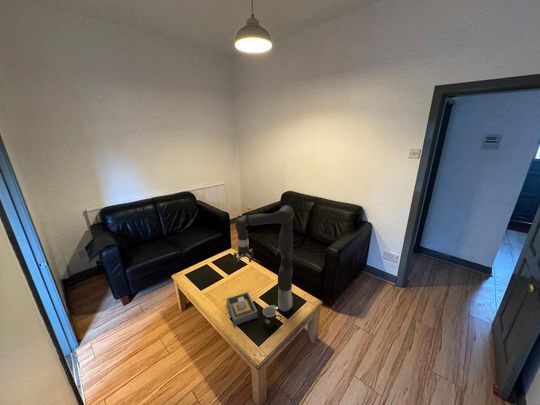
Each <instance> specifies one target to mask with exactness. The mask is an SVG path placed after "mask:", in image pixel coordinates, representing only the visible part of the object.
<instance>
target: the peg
mask: <svg viewBox="0 0 540 405" xmlns="http://www.w3.org/2000/svg"><path fill="white" fill-rule="evenodd" d="M238 309H239V311H240V310H243V309H245V299H244V297H243V296H242V297H239V298H238Z"/></svg>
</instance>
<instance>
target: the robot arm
mask: <svg viewBox="0 0 540 405" xmlns="http://www.w3.org/2000/svg"><path fill="white" fill-rule="evenodd" d="M294 215H295V212H294V208H293V207H292V206H291V205H288V204H287V205H283V206H281V208H279V210H278V211H275V212H272V213H256V214H251V215H250V214H249V215H248V214H247V215H241V216H240V217H239V218H238V219H236V220H235V224H234V227H235V230H236V233H237V252H233V260H234V262H236V265H237V266H240V260H241V259H242V258H246V257H248V263H249V264H251V262H252V258H254V257H255V255H254V249H253V248H250V246H249V243H250V242H249V231H248V229H246V227H247V226H249V225H250V226H251V227H255V226H260V225H265V224H266V225H267V224H268V225H269V224H281V226H280V227H281V228H280V230H279V236H278V251H279V255H280V267H279V270H278V273H277V288H278V290H277V292H278V293H277V294H278V295H277V306H278V307H277V308H278V309H279V310H280V311H281V312H288V311H290V310H291V308H293V298H294V297H293V295H292V292H293V290H292V286H293V283H292V278H293V277H292V276H293V272H294V267H293V252H294V251H293V249H294V230H293V228H294V227H293V225H294V217H295V216H294ZM249 253H250V254H249Z"/></svg>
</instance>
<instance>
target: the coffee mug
mask: <svg viewBox="0 0 540 405" xmlns="http://www.w3.org/2000/svg"><path fill="white" fill-rule="evenodd" d="M262 316H263V321H264V326H265V327H266V328H273V327H274V326H275V323H276V322H281V321H282V316H281V315H279V314H277V310H276V307H274V306H272V305H269V306H265V307H264V308H263V309H262ZM277 317H279V318H280V319H278V320H276V318H277Z"/></svg>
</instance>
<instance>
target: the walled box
mask: <svg viewBox="0 0 540 405" xmlns="http://www.w3.org/2000/svg"><path fill="white" fill-rule="evenodd" d="M242 296H243V297H244V299H245V309H243V310H240V311H239V309H238V298H239V297H242ZM226 304H227V307H228V311H229V314H230V317H231V320H232V323H233V326H238V325H240V324H242V323H245V322H249V321H251V320H253V319H257V318H258V317H259V316H258V315H259V314H258V310H257V308H256V305H255V303H254V301H253V300H252V298H251V295H250V293H249V291H246V292H243V293H240V294H237V295H233V296H230V297H227V298H226Z"/></svg>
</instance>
